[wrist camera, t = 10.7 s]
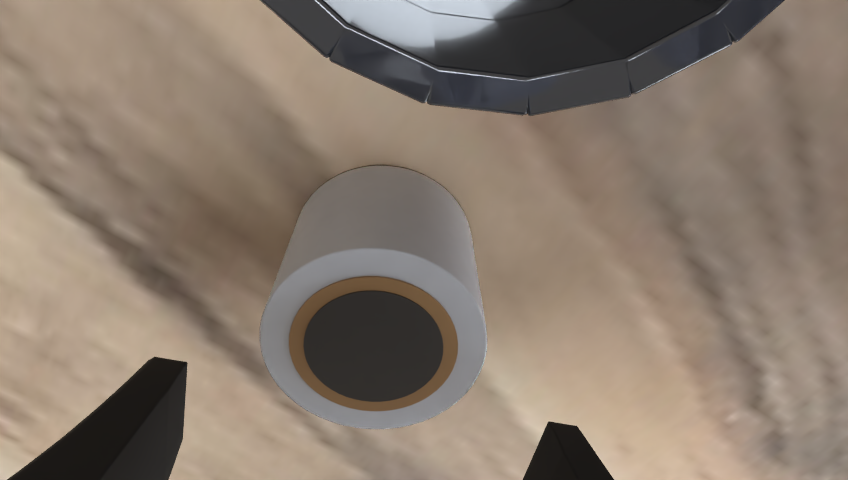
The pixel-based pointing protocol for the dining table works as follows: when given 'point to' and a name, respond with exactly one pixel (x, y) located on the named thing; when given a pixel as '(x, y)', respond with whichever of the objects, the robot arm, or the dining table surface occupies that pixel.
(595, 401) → the dining table surface
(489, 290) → the dining table surface
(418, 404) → the tape roll
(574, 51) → the pot
